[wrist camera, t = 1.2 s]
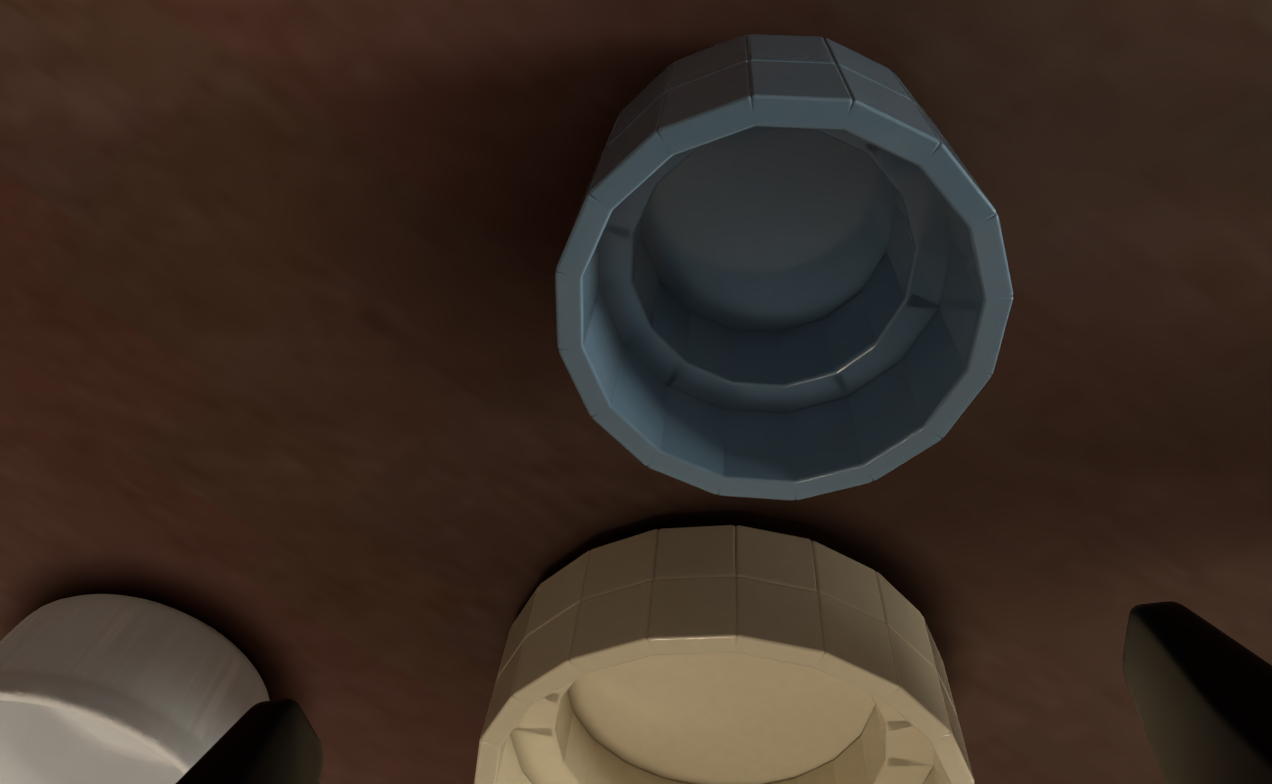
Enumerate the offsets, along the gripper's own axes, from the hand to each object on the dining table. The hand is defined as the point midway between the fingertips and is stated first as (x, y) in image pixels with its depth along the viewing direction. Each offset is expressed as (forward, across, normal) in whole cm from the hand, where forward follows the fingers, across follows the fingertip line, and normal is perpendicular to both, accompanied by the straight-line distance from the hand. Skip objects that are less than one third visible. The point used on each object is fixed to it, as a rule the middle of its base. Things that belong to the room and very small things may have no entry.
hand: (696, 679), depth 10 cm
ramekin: (+12, +18, +12) cm, 25 cm away
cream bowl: (+11, +1, +13) cm, 17 cm away
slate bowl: (+11, -2, -1) cm, 11 cm away
